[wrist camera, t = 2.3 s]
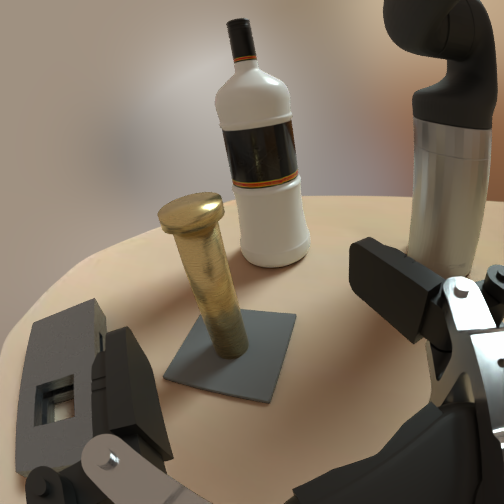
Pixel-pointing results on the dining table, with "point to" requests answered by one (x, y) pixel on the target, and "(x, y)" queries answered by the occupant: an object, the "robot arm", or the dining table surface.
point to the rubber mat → (240, 369)
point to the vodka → (261, 157)
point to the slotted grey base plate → (58, 387)
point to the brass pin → (207, 268)
